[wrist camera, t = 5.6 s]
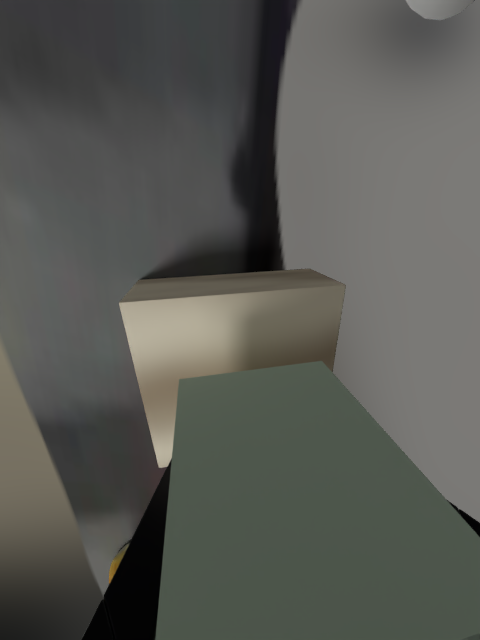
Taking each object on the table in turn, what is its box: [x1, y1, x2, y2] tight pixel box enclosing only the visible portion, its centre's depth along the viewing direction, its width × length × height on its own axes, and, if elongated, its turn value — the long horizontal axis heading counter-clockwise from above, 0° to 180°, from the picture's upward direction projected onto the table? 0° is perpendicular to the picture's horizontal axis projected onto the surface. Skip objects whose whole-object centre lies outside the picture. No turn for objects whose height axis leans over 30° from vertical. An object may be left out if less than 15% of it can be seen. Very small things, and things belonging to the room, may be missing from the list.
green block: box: [155, 361, 480, 640], centre depth 6 cm, size 5×5×6 cm
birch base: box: [119, 269, 346, 468], centre depth 13 cm, size 9×9×4 cm
